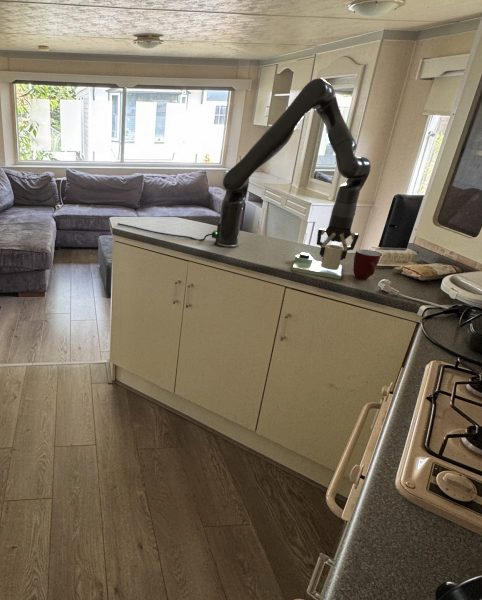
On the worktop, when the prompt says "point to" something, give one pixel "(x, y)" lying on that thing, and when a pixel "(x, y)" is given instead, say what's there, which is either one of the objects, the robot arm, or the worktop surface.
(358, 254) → the mug
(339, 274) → the scale
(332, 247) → the cream cup
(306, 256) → the tare button
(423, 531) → the worktop surface
